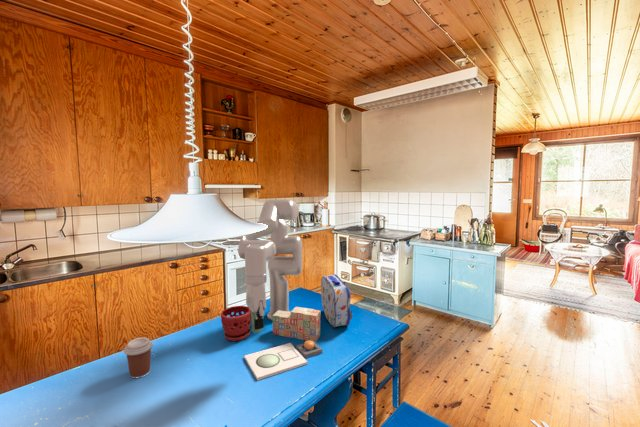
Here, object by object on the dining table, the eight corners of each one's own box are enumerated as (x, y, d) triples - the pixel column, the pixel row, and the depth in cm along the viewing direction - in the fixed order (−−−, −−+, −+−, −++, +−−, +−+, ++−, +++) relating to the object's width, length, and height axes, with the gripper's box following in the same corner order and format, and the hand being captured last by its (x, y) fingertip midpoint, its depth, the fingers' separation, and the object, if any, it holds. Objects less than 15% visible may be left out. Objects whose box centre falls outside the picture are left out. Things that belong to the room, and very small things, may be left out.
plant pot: (245, 326, 150) (245, 302, 149) (255, 338, 139) (255, 312, 138) (218, 333, 143) (217, 308, 142) (226, 346, 132) (225, 319, 131)
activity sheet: (244, 357, 124) (244, 355, 124) (290, 345, 134) (290, 342, 134) (257, 380, 110) (257, 377, 110) (307, 364, 120) (307, 361, 120)
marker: (249, 328, 117) (249, 303, 116) (260, 326, 119) (260, 301, 118) (253, 333, 113) (252, 307, 112) (264, 331, 115) (263, 305, 114)
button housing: (296, 348, 131) (296, 345, 131) (313, 343, 135) (313, 340, 135) (305, 358, 124) (305, 354, 124) (322, 352, 128) (322, 349, 128)
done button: (302, 346, 130) (302, 341, 130) (311, 343, 132) (311, 339, 132) (307, 350, 126) (307, 346, 126) (315, 348, 128) (315, 343, 128)
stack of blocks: (272, 334, 143) (272, 308, 142) (278, 328, 149) (278, 303, 148) (316, 342, 136) (316, 315, 135) (320, 335, 142) (320, 310, 141)
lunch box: (354, 330, 147) (355, 285, 145) (334, 333, 144) (334, 287, 142) (336, 307, 173) (337, 269, 171) (318, 309, 171) (318, 270, 168)
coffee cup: (123, 383, 108) (121, 351, 106) (127, 369, 116) (125, 338, 115) (153, 377, 112) (151, 345, 110) (154, 363, 120) (153, 333, 119)
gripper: (239, 273, 119) (241, 319, 121) (252, 287, 105) (253, 338, 107) (258, 270, 123) (259, 315, 125) (273, 283, 108) (274, 333, 110)
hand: (257, 325), depth 116 cm, fingers closed on marker, 4 cm apart
